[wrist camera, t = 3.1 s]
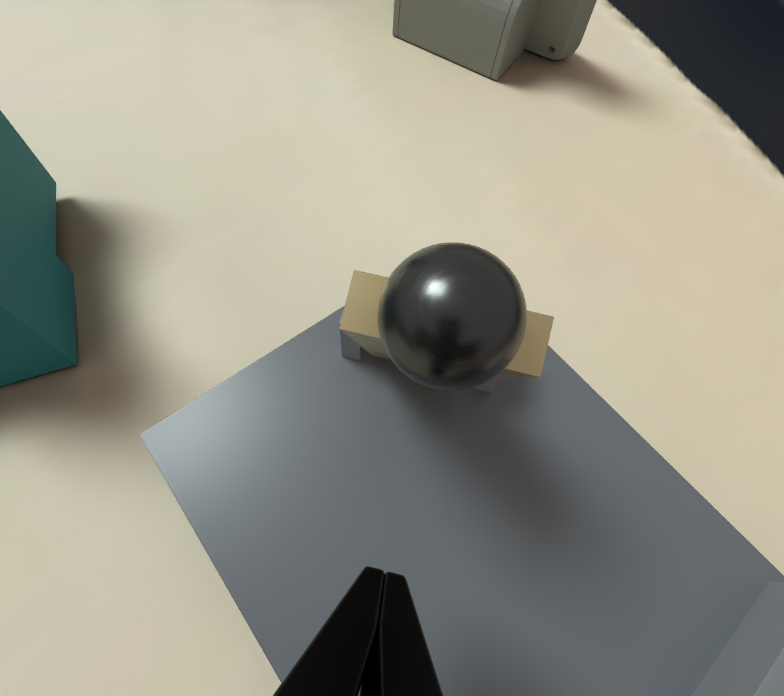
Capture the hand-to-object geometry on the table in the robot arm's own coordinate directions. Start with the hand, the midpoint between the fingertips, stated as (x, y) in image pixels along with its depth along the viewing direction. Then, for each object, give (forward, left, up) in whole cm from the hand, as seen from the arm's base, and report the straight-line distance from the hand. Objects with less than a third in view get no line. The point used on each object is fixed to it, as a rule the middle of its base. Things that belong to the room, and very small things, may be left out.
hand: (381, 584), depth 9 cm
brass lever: (+7, +5, -7) cm, 11 cm away
